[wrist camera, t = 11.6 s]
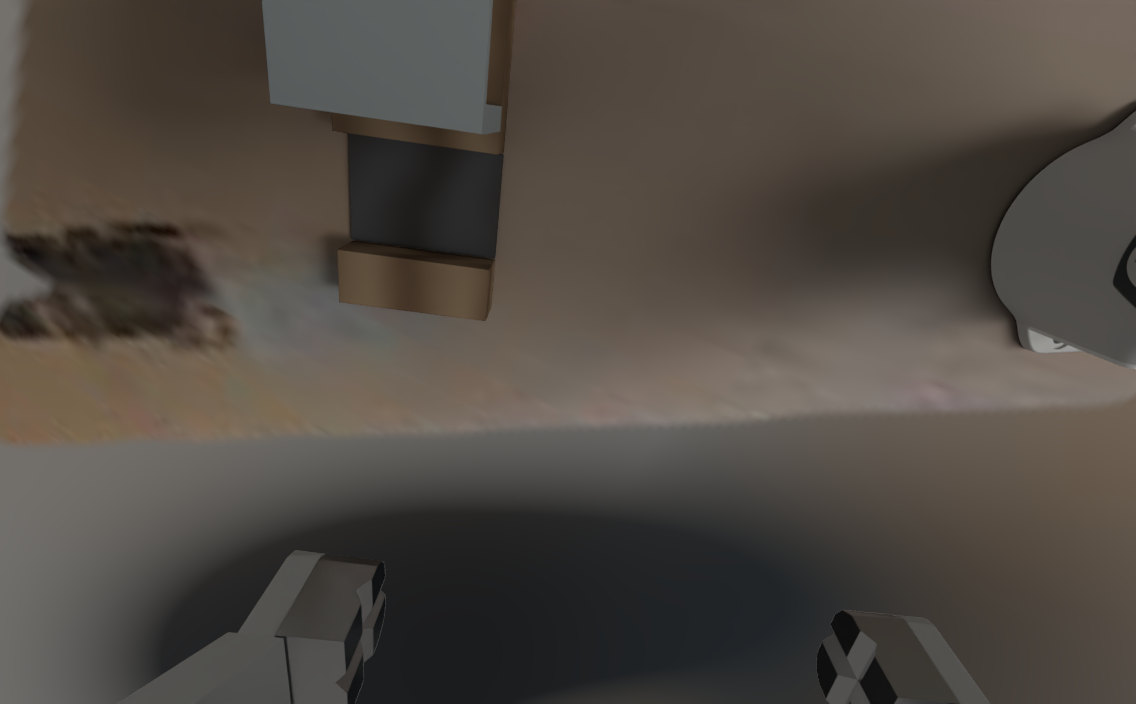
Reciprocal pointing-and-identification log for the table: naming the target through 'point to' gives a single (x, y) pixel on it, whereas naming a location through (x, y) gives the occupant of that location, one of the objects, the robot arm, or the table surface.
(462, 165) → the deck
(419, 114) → the tunnel
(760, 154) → the table surface
